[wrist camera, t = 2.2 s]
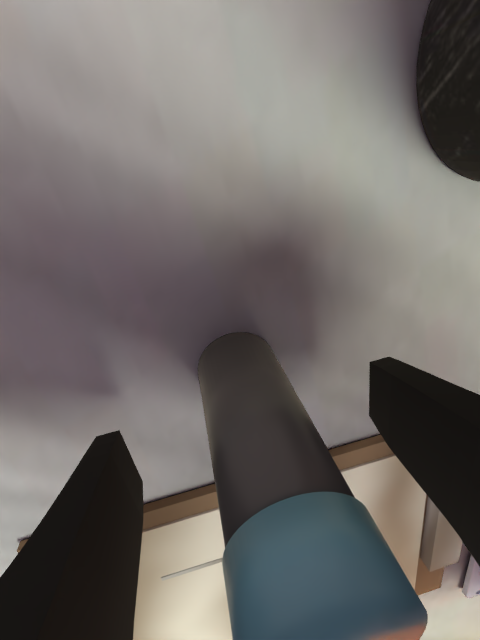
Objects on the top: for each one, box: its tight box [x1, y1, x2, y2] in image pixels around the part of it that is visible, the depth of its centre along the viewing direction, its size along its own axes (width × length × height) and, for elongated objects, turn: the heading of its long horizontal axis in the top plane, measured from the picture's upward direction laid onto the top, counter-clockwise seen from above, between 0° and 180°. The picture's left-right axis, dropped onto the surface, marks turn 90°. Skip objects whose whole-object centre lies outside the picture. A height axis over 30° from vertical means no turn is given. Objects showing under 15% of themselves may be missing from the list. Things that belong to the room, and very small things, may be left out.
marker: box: [198, 332, 428, 640], centre depth 9 cm, size 3×3×8 cm
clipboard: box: [17, 435, 463, 640], centre depth 17 cm, size 20×15×1 cm
